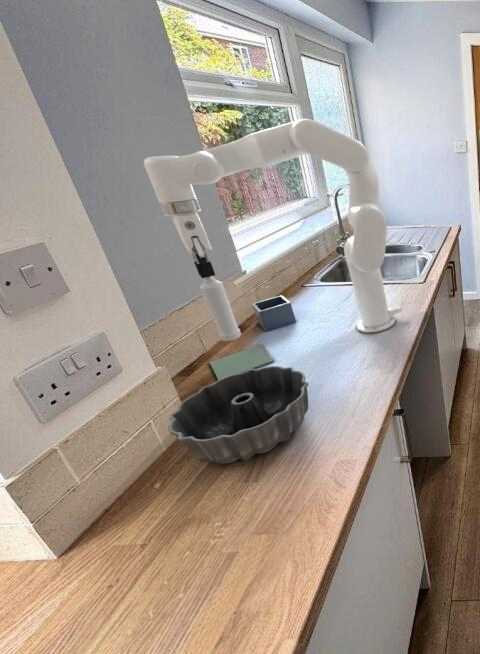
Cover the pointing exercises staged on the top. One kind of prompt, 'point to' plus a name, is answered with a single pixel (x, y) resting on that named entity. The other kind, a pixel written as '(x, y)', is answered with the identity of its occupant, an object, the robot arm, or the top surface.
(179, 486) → the top surface
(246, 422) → the bundt pan
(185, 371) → the top surface
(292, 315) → the box
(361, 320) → the robot arm
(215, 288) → the bottle
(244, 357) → the mat
